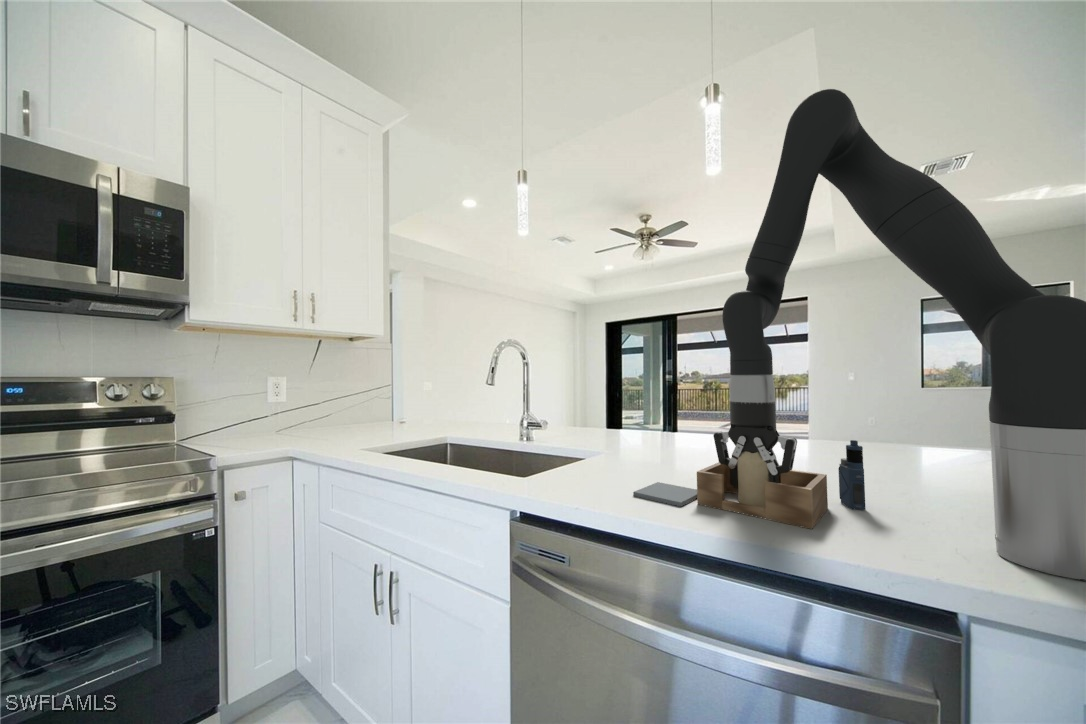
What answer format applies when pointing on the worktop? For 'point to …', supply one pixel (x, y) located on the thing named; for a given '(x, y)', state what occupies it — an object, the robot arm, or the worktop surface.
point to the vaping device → (852, 477)
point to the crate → (769, 496)
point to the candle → (752, 479)
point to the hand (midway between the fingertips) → (754, 491)
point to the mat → (667, 493)
